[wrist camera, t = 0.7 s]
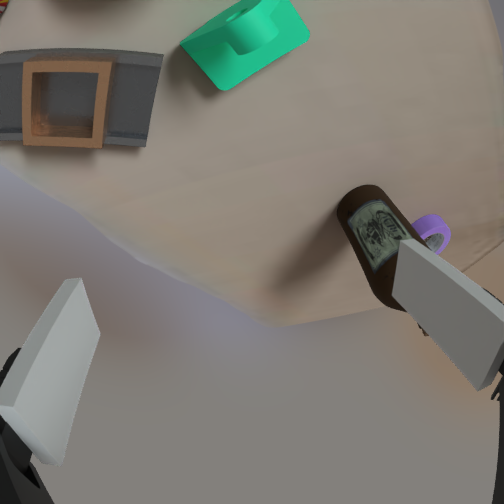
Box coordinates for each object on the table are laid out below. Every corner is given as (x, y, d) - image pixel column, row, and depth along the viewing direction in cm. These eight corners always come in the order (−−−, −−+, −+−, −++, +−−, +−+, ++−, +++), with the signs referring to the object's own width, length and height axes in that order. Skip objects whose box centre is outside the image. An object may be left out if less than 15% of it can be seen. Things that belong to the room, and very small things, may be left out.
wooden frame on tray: (4, 132, 29) (-10, 149, 26) (4, 51, 22) (-14, 61, 19) (146, 138, 36) (144, 156, 33) (163, 54, 29) (161, 62, 26)
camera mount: (220, 87, 34) (233, 119, 27) (179, 41, 29) (180, 58, 22) (304, 34, 30) (344, 52, 24) (270, -17, 25) (303, -18, 18)
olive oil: (394, 207, 54) (467, 319, 38) (347, 237, 58) (406, 357, 41) (376, 169, 47) (467, 294, 31) (322, 205, 51) (392, 341, 34)
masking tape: (413, 258, 69) (421, 270, 66) (390, 243, 62) (398, 257, 60) (448, 225, 63) (457, 237, 60) (429, 205, 56) (439, 218, 54)
